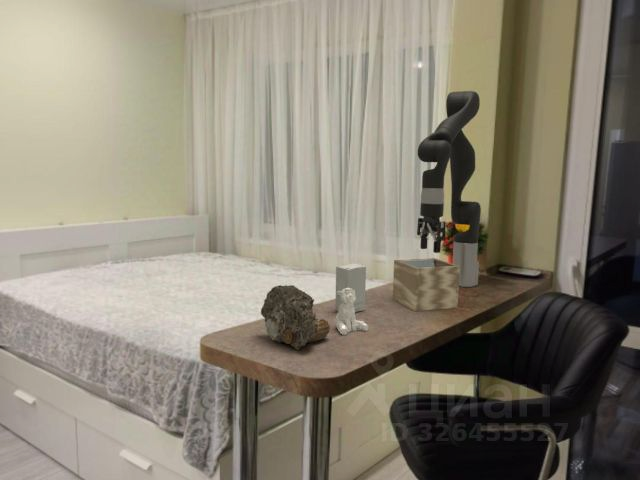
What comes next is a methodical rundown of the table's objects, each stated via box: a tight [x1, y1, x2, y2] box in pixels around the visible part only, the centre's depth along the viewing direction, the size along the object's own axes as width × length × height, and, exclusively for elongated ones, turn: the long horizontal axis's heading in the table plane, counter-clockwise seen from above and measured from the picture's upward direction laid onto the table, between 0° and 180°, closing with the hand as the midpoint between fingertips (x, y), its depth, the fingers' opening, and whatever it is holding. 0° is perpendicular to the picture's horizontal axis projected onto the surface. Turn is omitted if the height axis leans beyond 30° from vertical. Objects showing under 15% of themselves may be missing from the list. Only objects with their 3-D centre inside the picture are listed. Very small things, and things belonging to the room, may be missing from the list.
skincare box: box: [334, 262, 367, 313], centre depth 167 cm, size 8×6×15 cm
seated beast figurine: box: [334, 288, 369, 336], centre depth 148 cm, size 10×9×12 cm
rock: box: [260, 284, 331, 351], centre depth 137 cm, size 18×14×15 cm
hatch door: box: [401, 258, 435, 268], centre depth 180 cm, size 13×13×1 cm
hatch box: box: [392, 257, 460, 312], centre depth 178 cm, size 16×16×14 cm
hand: (430, 250), depth 174 cm, fingers open, 8 cm apart
